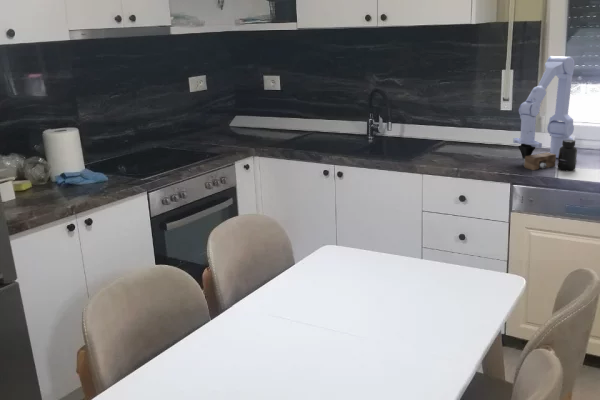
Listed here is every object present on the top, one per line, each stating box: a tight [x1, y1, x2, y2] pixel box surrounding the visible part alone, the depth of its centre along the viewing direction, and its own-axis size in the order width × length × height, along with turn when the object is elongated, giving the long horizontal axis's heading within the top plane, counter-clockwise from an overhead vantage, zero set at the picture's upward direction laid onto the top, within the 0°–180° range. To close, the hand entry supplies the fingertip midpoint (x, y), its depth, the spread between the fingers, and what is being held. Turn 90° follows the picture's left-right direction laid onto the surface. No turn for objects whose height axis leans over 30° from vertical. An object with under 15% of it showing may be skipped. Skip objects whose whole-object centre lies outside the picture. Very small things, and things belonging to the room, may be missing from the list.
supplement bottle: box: [557, 139, 578, 172], centre depth 254 cm, size 7×7×12 cm
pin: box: [522, 158, 546, 170], centre depth 262 cm, size 9×6×3 cm, turn 24°
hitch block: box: [524, 152, 557, 171], centre depth 261 cm, size 12×5×5 cm, turn 115°
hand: (526, 161), depth 267 cm, fingers closed
